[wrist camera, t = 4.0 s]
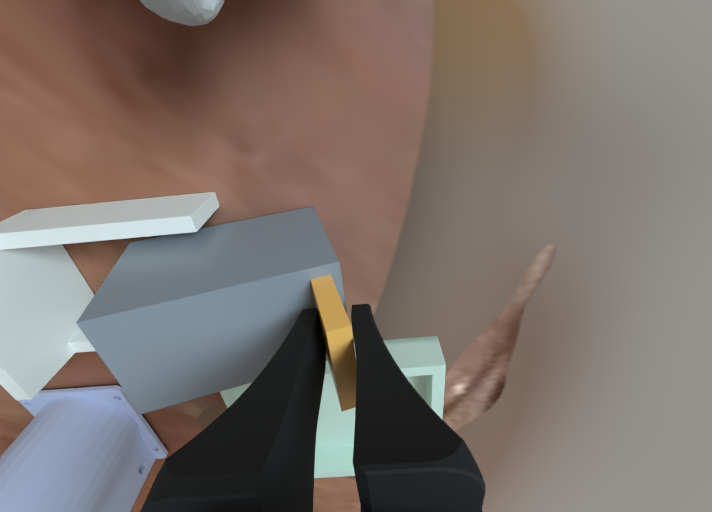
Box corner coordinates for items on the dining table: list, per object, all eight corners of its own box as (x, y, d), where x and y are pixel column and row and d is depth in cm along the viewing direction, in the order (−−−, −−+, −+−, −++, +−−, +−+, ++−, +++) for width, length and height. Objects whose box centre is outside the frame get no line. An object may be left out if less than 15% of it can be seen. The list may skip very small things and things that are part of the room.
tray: (432, 440, 29) (438, 470, 27) (268, 450, 30) (262, 481, 28) (437, 335, 23) (445, 365, 20) (227, 351, 23) (214, 381, 21)
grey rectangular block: (326, 282, 20) (373, 409, 13) (170, 320, 19) (116, 493, 11) (313, 206, 18) (362, 309, 10) (130, 242, 16) (25, 398, 8)
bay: (252, 305, 21) (220, 385, 16) (96, 318, 22) (16, 400, 16) (214, 191, 17) (156, 249, 12) (25, 210, 18) (-110, 273, 12)
